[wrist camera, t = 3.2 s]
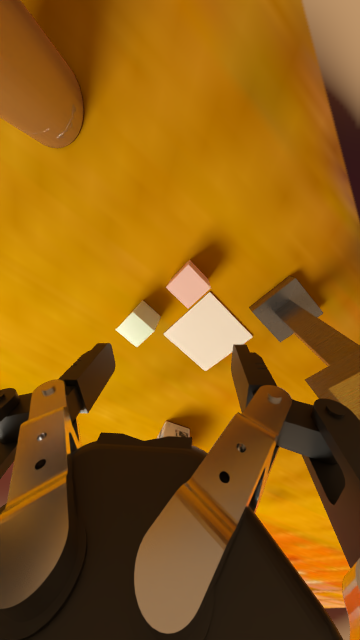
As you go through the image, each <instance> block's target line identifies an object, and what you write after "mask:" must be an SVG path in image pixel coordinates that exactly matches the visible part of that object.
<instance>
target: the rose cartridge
mask: <svg viewBox="0 0 360 640" xmlns="http://www.w3.org/2000/svg"><path fill="white" fill-rule="evenodd" d="M166 288H167V289H168V290H169V291H170V292H171V293H172V294H173V295H174V296H175V297H176V298H177V299H178V300H179V301H181V302H182V303H183V304H184V305H185V306H186V307H187V308H189V307H190V306H191V305H193V304H194V303H195V302H196V301H197V300H198V299H199V298H200V297H201V296H202V295H204V294H205V293H206V292H207V291H208V290H209V289H210V288H211V287H210V283H209V280H208V278H207V277H206V276H205V275H204V274H203V273H202V272H201V271H200V270H199V269H198V268H197V267H196V266H195V265H194V264H193V263H192V262H191V261H190V260H189V261H188V262H187V263H186V264H185V265H184V266H183V267H182V268H181V269H180V270H179V271H178V272H177V273H176V274H175V275H174V276H173V278H172V279H171V280H170V282H169V283H168V285H167V286H166Z"/></svg>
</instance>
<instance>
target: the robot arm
mask: <svg viewBox="0 0 360 640" xmlns="http://www.w3.org/2000/svg"><path fill="white" fill-rule="evenodd" d="M83 108H84V107H83V99H82V94H81V90H80V87H79V84H78V82H77V79H76V77H75V75H74V74H73V72H72V70H71V69H70V67H69V66H68V64H67V63H66V62H65V60H64V59H63V58H62V56H61V55H60V53H59V52H58V51H57V49H56V48H55V47H54V45H53V44H52V43H51V41H50V40H49V39H48V37H47V36H46V34H45V33H44V32H43V30H42V29H41V27H40V26H39V25H38V23H37V22H36V21H35V19H34V18H33V17H32V15H31V14H30V13H29V11H28V10H27V9H26V7H25V6H24V5H23V3H22V2H21V0H0V118H2V119H3V120H5V121H7V122H8V123H10V124H12V125H13V126H15V127H16V128H18V129H19V130H21V131H23V132H24V133H26V134H27V135H29V136H31V137H32V138H34V139H36V140H37V141H39V142H40V143H42V144H44V145H46V146H49V147H54V148H60V147H64V146H67V145H69V144H70V143H71V142H72V141H74V140H75V138H76V137H77V135H78V134H79V131H80V129H81V126H82V121H83ZM114 370H115V360H114V355H113V351H112V346H111V344H110V343H98V344H96V345H95V347H94V348H93V349H92V350H91V351H88V352H86V353H85V354H83V355H82V356H81V357H80V358H79V359H78V360H77V361H76V362H75V363H74V364H73V366H71V367H70V368H69V369H68V370H67V371H66V372H65V373H64V374H63V375H62V376H61V377H60V378H59V379H58V380H51V381H48V382H45V383H43V384H42V385H40V386H38V387H37V388H36V389H35V390H34V391H33V393H29V394H24V395H19V396H18V394H17V392H16V390H15V389H13V388H7V389H2V390H0V478H1V477H2V476H3V475H4V473H5V472H6V470H7V469H8V468H9V467H10V465H11V464H12V463H13V462H14V466H13V472H12V478H11V483H10V489H9V495H8V501H7V503H6V504H5V505H3V506H2V507H1V508H0V640H343V638H342V637H341V635H340V633H339V631H338V629H337V628H336V626H335V624H334V623H333V621H332V619H331V618H330V616H329V615H328V613H327V612H326V610H325V609H324V607H323V606H322V605H321V603H320V602H319V600H318V599H317V598H316V596H315V595H314V594H313V592H312V591H311V590H310V588H309V587H308V585H307V584H306V583H305V581H304V580H303V579H302V577H301V576H300V575H299V573H298V572H297V570H296V569H295V568H294V566H293V565H292V564H291V562H290V561H289V560H288V558H287V557H286V555H285V554H284V553H283V551H282V550H281V549H280V547H279V546H278V544H277V543H276V542H275V540H274V539H273V538H272V536H271V535H270V534H269V532H268V531H267V529H266V528H265V527H264V525H263V524H262V523H261V521H260V520H259V519H258V517H257V516H256V514H255V512H256V509H257V507H258V504H259V502H260V499H261V496H262V493H263V490H264V487H265V484H266V481H267V478H268V476H269V473H270V471H271V468H272V466H273V463H274V461H275V458H276V455H277V453H278V450H279V448H280V447H282V448H285V449H288V450H290V451H293V452H296V453H299V454H302V456H303V459H304V461H305V463H306V466H307V468H308V470H309V473H310V475H311V477H312V480H313V482H314V484H315V487H316V489H317V491H318V494H319V496H320V498H321V501H322V503H323V505H324V508H325V510H326V512H327V515H328V517H329V519H330V522H331V524H332V526H333V529H334V531H335V533H336V536H337V538H338V540H339V543H340V545H341V547H342V550H343V552H344V554H345V557H346V559H347V561H348V564H349V566H350V568H351V569H350V570H349V571H348V573H347V574H346V575H345V576H344V579H343V584H342V592H343V598H344V602H345V605H346V609H347V613H348V616H349V622H350V640H360V420H359V419H358V418H357V417H356V415H355V414H354V413H353V412H352V411H351V410H350V409H349V408H347V407H346V406H344V405H343V404H341V403H339V402H337V401H334V400H331V399H323V398H322V399H318V400H316V401H315V402H314V405H309V404H306V403H302V402H298V401H295V400H293V399H291V397H290V395H289V394H288V393H287V392H286V391H285V390H283V389H282V388H279V387H277V385H276V383H275V381H274V380H273V378H272V376H271V374H270V372H269V370H268V369H267V367H266V365H265V363H264V361H263V359H262V358H261V357H260V356H259V355H258V354H256V353H250V352H249V350H248V347H247V345H243V344H234V345H233V351H232V363H231V371H232V377H233V381H234V384H235V388H236V392H237V396H238V400H239V403H240V407H241V411H242V414H240V413H237V414H236V415H235V416H234V417H233V419H232V420H231V421H230V423H229V424H228V426H227V427H226V429H225V430H224V431H223V433H222V434H221V436H220V437H219V438H218V440H217V441H216V443H215V444H214V446H213V447H212V448H211V450H210V451H209V453H206V452H205V451H203V450H201V449H199V448H197V447H195V446H192V437H176V436H167V437H162V438H157V439H152V440H147V441H142V440H139V439H136V438H133V437H131V436H128V435H125V434H118V433H101V434H100V436H99V438H98V440H97V441H95V442H92V443H89V444H86V445H84V446H82V445H81V438H80V431H79V424H78V419H77V415H78V414H79V413H89V411H90V409H91V408H92V406H93V404H94V403H95V401H96V400H97V398H98V396H99V395H100V393H101V392H102V390H103V388H104V387H105V385H106V384H107V382H108V380H109V379H110V377H111V376H112V374H113V372H114Z"/></svg>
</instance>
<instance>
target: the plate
mask: <svg viewBox="0 0 360 640" xmlns="http://www.w3.org/2000/svg"><path fill="white" fill-rule="evenodd" d="M164 335H165V336H166V337H167V338H168V339H169V340H170V341H172V342H173V343H174V344H175V345H176V346H177V347H178V348H180V349H181V350H182V351H183V352H184V353H185V354H186V355H187V356H189V357H190V358H191V359H192V360H193V361H194V362H195V363H196V364H198V365H199V366H200V367H201V368H202V369H203V370H204V371H206V370H208V369H209V368H211V367H212V366H213V365H215V364H216V363H217V362H219V361H220V360H222V359H223V358H224V357H226V356H227V355H229V354H230V353H231V352H232V351H233V345H234V344H244V343H245V342H247V341H248V340H249V339H251V338H252V337H253V336H252V335H251V334H250V333H249V332H248V331H247V330H246V329H245V328H244V327H243V326H242V325H241V324H240V323H239V321H238V320H237V319H236V318H235V317H234V316H233V315H232V314H231V313H230V312H229V311H228V310H227V309H226V308H225V307H224V306H223V305H222V304H221V303H220V302H219V301H218V300H217V299H216V298H215V297H214V296H213V295H212V293H211V292H209V293H208V294H206V295H205V296H204V297H203V298H202V299H201V300H200V301H199V302H198V303H197V304H195V305H194V306H193V307H192V308H191V309H190V310H189V311H188V312H187V313H186V314H184V315H183V316H182V317H181V318H180V319H179V320H178V321H177V322H176V323H175V324H173V325H172V326H171V327H170V328H169V329H168V330H167V331H166V332H165V333H164Z"/></svg>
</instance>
